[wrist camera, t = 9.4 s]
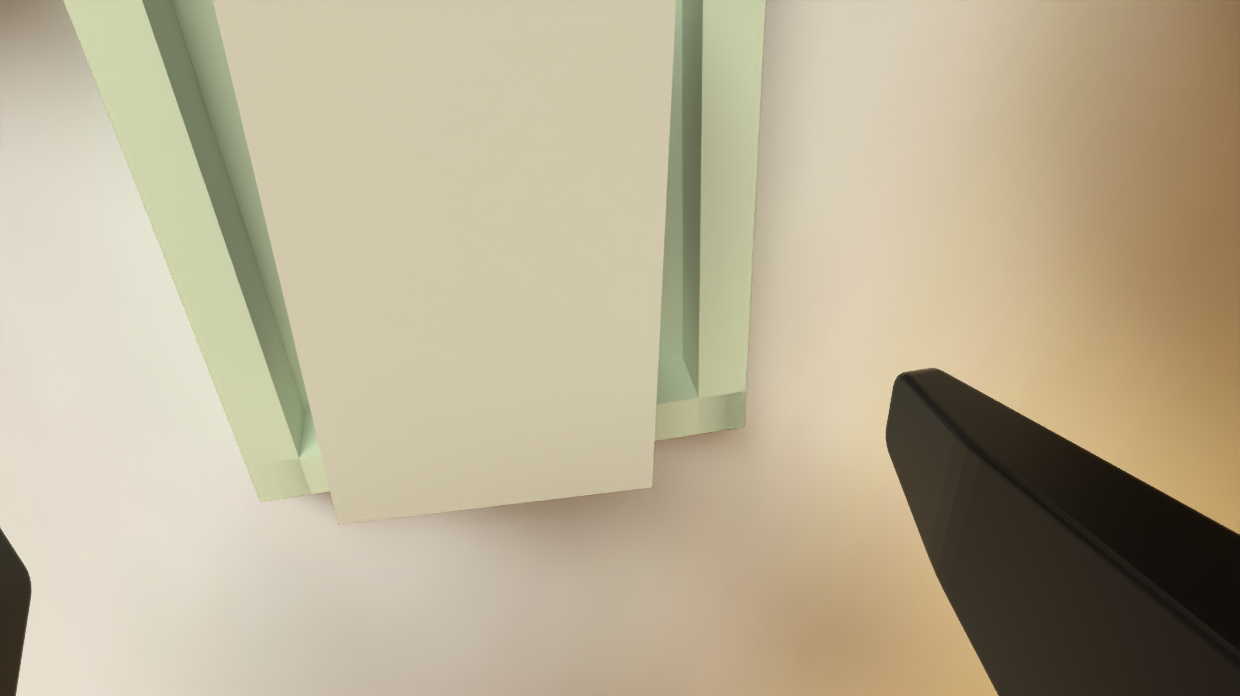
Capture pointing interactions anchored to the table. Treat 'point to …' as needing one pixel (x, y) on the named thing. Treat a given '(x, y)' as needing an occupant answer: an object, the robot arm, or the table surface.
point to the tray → (243, 257)
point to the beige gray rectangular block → (465, 237)
